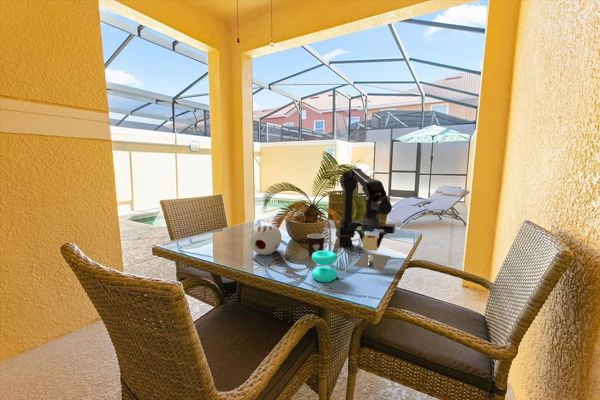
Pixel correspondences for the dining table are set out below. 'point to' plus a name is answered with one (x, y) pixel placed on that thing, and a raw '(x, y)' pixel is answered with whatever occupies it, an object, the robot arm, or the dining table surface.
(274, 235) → the decorative object
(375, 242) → the brass collar
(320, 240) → the coffee mug
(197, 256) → the dining table surface
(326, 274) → the donuts
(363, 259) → the base plate
